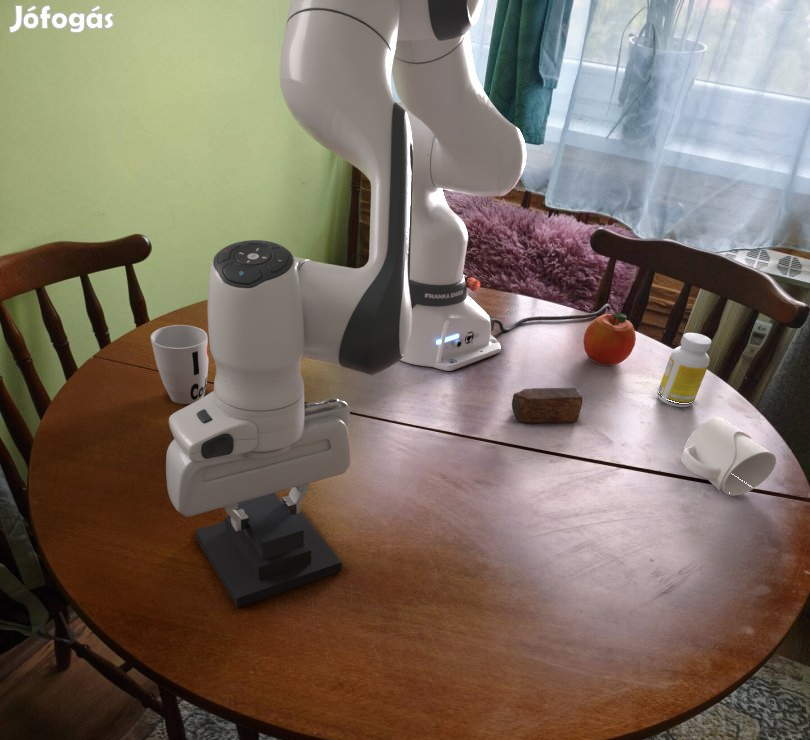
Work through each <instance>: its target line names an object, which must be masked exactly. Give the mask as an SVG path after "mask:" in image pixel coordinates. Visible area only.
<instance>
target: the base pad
mask: <svg viewBox="0 0 810 740" xmlns="http://www.w3.org/2000/svg"><path fill="white" fill-rule="evenodd" d="M292 516H293V517H294V518H295V520H296V521H297V522H298V524H299V525H300V526H301V527H302V529H303V530H304V542H305V543H306V544H307V546H308V547H309V548H310V549H311V563H310V564H307V565H304V566H301V567H298V568H295V569H292V570H289V571H286V572H283V573H280V574H277V575H274V576H272V577H269V578H266V579H263V580H259V579H258V578H257V576H256V575H255V573H254V572H253V570H252V569H251V567H250V566H249V564H248V563H247V561H246V559H245V558H244V556H243V555H242V553H241V552H240V550H239V549H238V547H237V546H236V544H235V543H234V541H233V540H232V538H231V537H230V535H229V534H228V532H227V531H226V526H225V520H224V521H221V522H218V523H214V524H211V525H208V526H204V527H200V528H197V529H195V530H194V532H195V539H196V541H197V543H198V544H199V546H200V548H201V550H202V551H203V553H204V554H205V556H206V559H208V561H209V563H210V564H211V566H212V568H213V570H214V571H215V573H216V574H217V576H218V578H219V579H220V581H221V583H222V584H223V586H224V588H225V589H226V591H227V592H228V594H229V596H230V598H231V600H232V601H233V603H234V604H235V606H236V607H237V609H238V608H242V607H245V606H247V605H250V604H253V603H256V602H258V601H261V600H264V599H267V598H270V597H273V596H275V595H278V594H281V593H284V592H287V591H289V590H290V591H291V590H292V589H295V588H298V587H301V586H303V585H307V584H310V583H312V582H316V581H319V580H322V579H323V578H326V577H327V578H328V577H330V576H332V575H334V574H335V575H336V574H337V573H340V572H342V569H343V568H342V566H343V562H342V560H341V559H340V558H339V556H338V555H337V554H336V553H335V551H333V549H332V548H331V546H329V544H328V543H327V542H326V540H325V539H324V537H322V535H321V534H320V533H319V532H318V530H317V529H316V527H314V525H313V524H312V523H311V522H310V520H309V519H308V517H307V516H306V515H305V514H304V512H303V511H302V510H301V509H300V513H298V514H294V515H292Z"/></svg>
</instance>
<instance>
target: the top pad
mask: <svg viewBox="0 0 810 740" xmlns="http://www.w3.org/2000/svg"><path fill="white" fill-rule="evenodd" d="M239 509H243V510H244V512H245V514H247V516H248V517H249V523H248V525H249V528H247V529H244V530H243V531H244V533H245V534H246V536H247V537H248V538H249V540H250V541H251V543H252V544H253V546H254V547H255V549H256V550H257V552H258V553H259V555H260V556H261V558H262V559H263V560H264V559H268V558H271V557H274V556H277V555H280V554H283V553H286V552H289V551H292V550H295V549H298V548H301V547H304V530H303V529H302V527H301V526H300V525H299V524H298V522H297V521H296V520H295V518H294V517H293V516H292V514H291V513H290V512H289V511H288V509H287V508H286V507H285V505H284V504H283V502H282V499H280V498H279V496H278V495H277V493H272V494H269V495H265V496H261V497H258V498H254V499H251V500H247V501H244V502H240V503H238V509H236V510H239Z"/></svg>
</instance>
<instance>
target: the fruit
mask: <svg viewBox="0 0 810 740" xmlns="http://www.w3.org/2000/svg"><path fill="white" fill-rule="evenodd" d="M636 340H637V336H636V330H635V328H634V325H633V323H632V322H631V321H630V320H627V315H626V314H624V313H621V312H619V313H618V312H617V311H616V312H614V313H612V314H611V313H605V314H600V315H598V317H597V316H596V318H595V319H593V320H592V322H591V323H590V324H589V325H588V327H587V328H586V330H585V332H584V335H583V342H582V343H583V347H584V348H583V349H584V352H585V354H586V356H587V357H588V358H589V359H590V360H591V361H593V362H594V363H596V364H599V365H602V366H614V365H619V364H620V363H622V362H624V361H625V360H627V359H628V357H629V356H630V355H631V354H632V352H633V350H634V348H635V345H636Z"/></svg>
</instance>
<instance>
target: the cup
mask: <svg viewBox="0 0 810 740" xmlns="http://www.w3.org/2000/svg"><path fill="white" fill-rule="evenodd" d="M208 341H209V337H208V333H207V332H206V331H205V330H203V328H200V327H197V326H193V325H186V324H172V325H167V326H163V327H160V328H157V329H156V330H154V331H153V332H152V333H151V334H150V342H151V346H152V351H153V355H154V359H155V364H156V367H157V370H158V373H159V375H160V376H159V377H160V380H161V381H162V385H163V386H164V388H165V390H166V392H167V394H168V396H169V399H170V400H171V401H172V402H173V403H176V404H179V405H190V404H192V403H194V402H196V401H198V400H200V399H201V398H203V397H205V392H206V387H207V383H208V375H209V374H208V371H209V342H208Z"/></svg>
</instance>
